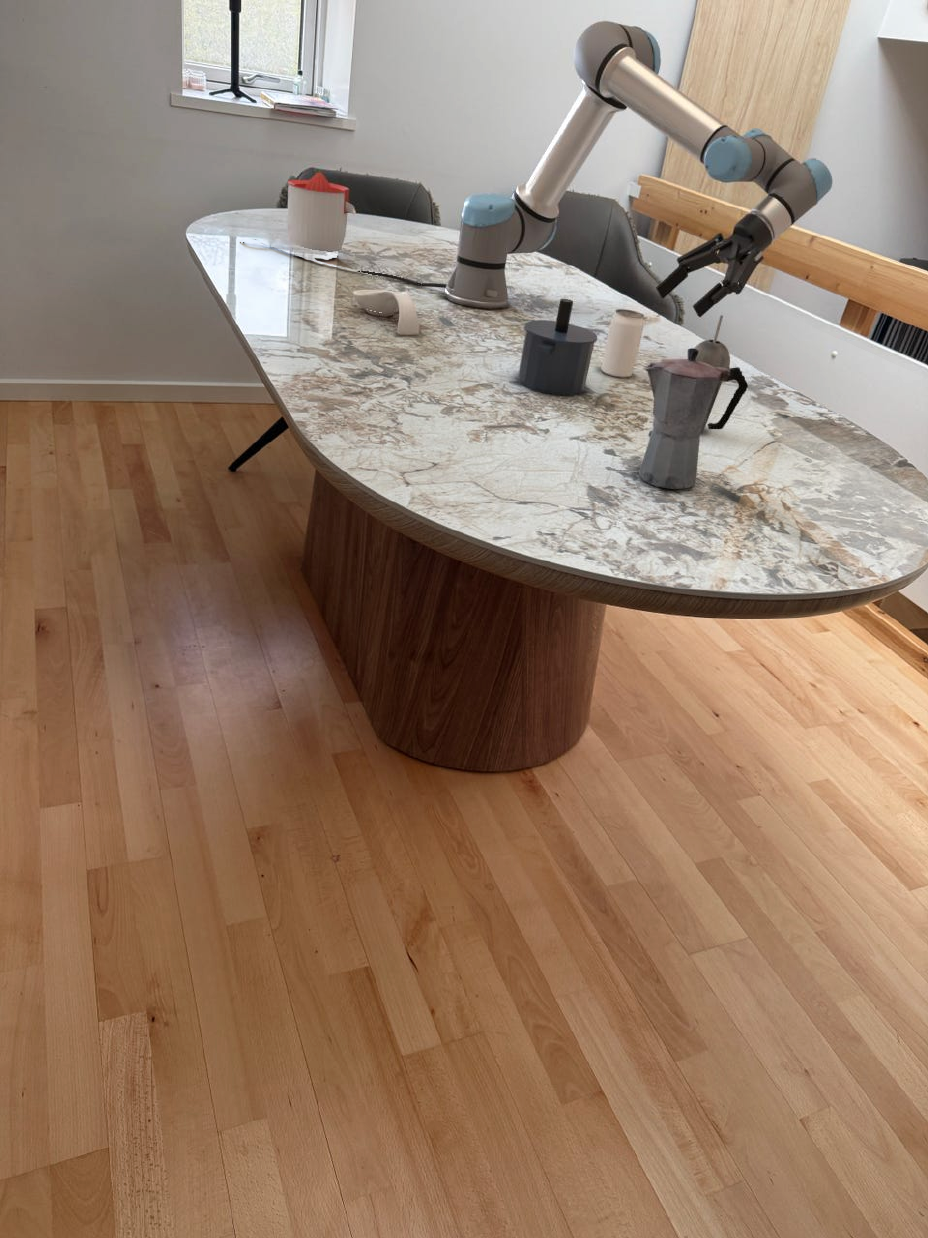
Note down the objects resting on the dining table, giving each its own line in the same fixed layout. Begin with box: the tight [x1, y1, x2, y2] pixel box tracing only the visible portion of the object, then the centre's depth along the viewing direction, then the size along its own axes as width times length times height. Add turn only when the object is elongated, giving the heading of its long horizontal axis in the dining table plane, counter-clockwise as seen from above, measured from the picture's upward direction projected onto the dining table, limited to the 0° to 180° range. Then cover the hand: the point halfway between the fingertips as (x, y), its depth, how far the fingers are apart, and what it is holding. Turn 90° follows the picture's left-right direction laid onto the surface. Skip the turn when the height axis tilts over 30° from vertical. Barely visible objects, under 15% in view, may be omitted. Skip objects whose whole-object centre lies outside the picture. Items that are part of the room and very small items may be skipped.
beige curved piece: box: [352, 289, 420, 336], centre depth 197 cm, size 24×12×7 cm, turn 25°
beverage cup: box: [694, 314, 731, 433], centre depth 160 cm, size 7×7×20 cm
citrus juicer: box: [286, 171, 357, 252], centre depth 237 cm, size 16×17×20 cm
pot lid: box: [523, 298, 598, 345], centre depth 169 cm, size 14×14×7 cm
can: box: [600, 308, 645, 379], centre depth 185 cm, size 6×6×12 cm
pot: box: [517, 331, 595, 396], centre depth 173 cm, size 13×18×10 cm
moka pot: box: [638, 347, 749, 490], centre depth 137 cm, size 10×15×20 cm, turn 95°
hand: (677, 302), depth 184 cm, fingers open, 13 cm apart
